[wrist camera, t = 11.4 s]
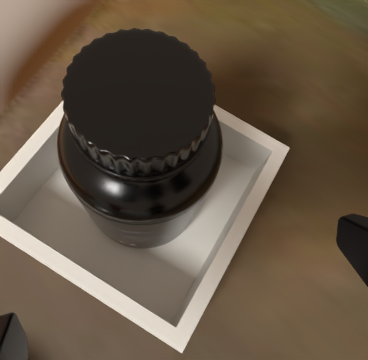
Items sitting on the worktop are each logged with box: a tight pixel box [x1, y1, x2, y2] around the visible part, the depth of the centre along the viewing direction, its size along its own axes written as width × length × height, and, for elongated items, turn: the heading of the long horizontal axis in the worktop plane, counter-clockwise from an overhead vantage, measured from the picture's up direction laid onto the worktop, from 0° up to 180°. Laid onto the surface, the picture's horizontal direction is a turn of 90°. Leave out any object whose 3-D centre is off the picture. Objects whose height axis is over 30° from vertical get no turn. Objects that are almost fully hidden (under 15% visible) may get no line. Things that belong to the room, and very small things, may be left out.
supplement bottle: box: [57, 28, 223, 249], centre depth 16 cm, size 7×7×12 cm
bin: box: [0, 101, 290, 353], centre depth 20 cm, size 13×13×4 cm
